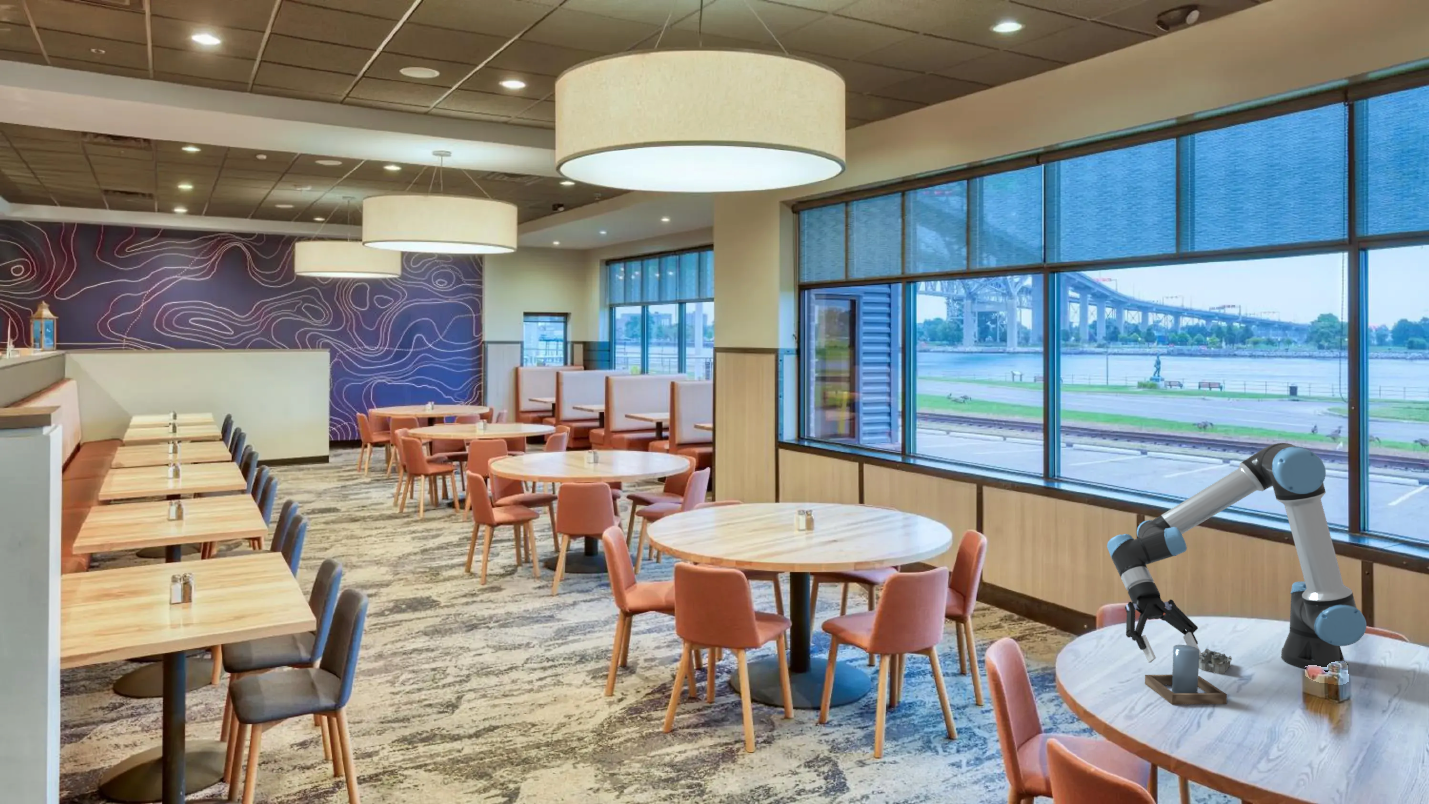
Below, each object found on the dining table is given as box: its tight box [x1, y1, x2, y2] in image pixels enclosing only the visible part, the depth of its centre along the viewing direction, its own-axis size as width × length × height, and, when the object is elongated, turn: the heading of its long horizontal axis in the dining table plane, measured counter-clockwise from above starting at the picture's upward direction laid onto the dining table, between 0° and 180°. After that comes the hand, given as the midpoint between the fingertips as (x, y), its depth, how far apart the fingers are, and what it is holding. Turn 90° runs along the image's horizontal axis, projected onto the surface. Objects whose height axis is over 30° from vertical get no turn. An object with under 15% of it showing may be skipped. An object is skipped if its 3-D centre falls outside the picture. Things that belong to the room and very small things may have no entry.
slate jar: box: [1171, 644, 1200, 693], centre depth 242 cm, size 6×6×12 cm
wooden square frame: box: [1144, 674, 1228, 705], centre depth 243 cm, size 14×14×2 cm
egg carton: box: [1199, 648, 1233, 675], centre depth 262 cm, size 11×8×4 cm
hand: (1175, 658), depth 244 cm, fingers open, 13 cm apart
